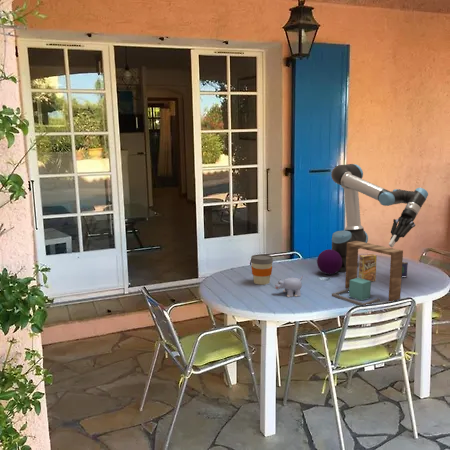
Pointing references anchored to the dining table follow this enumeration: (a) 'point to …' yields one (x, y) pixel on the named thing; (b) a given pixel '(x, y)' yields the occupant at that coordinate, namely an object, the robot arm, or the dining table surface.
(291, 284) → the hippopotamus toy
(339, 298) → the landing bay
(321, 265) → the toy ball
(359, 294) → the teal block
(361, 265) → the candy box
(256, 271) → the reusable coffee cup
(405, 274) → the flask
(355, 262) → the tunnel
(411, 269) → the dining table surface
